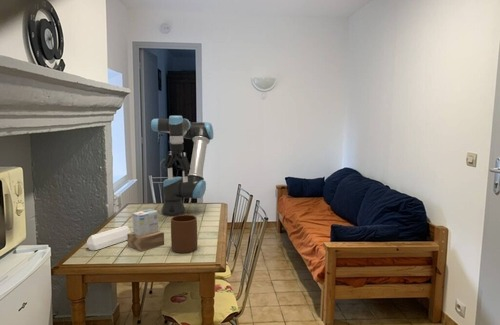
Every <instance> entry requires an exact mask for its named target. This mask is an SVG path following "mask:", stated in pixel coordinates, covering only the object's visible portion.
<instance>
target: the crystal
mask: <svg viewBox="0 0 500 325" xmlns="http://www.w3.org/2000/svg"><path fill="white" fill-rule="evenodd" d="M128 233H132V231H131V230H130V228H129V226H128V225H122V226H119V227H116V228H112V229H109V230H106V231H102V232H98V233H95V234H92V235H90V236H89V237H88V238H87V241H86V244H87V247H88V250H90V251H93V252H94V251H97V250H100V249H104V248H106V247H110V246H113V245H115V244H116V245H117V244H119V243H122V242H125V241H128V238H127V234H128Z"/></svg>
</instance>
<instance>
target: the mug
mask: <svg viewBox="0 0 500 325" xmlns="http://www.w3.org/2000/svg"><path fill="white" fill-rule="evenodd" d="M171 217H172V218H171V219H170V239H171V242H170V243H171V250H172V251H173V252H175V253H178V254H188V253H192V252H195V251H196V250H197V248H198V219H197V217H196V216H195V215H191V214H189V213H187V212H185V213H184V214H182V215H178V216H171Z"/></svg>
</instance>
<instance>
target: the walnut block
mask: <svg viewBox="0 0 500 325" xmlns="http://www.w3.org/2000/svg"><path fill="white" fill-rule="evenodd" d="M127 238H128V240H127V247H129V248H132V249H134V250H136V251H139V252H145V251H148V250H151V249H152V250H153V249H155V248H158V247H160V246H164V245H165V232H163V231H159V230H158V232H155V233H151V234H148V235H144V236H137V235H135V234H134V232H133V231H131V233H128V234H127Z"/></svg>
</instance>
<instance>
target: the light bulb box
mask: <svg viewBox="0 0 500 325" xmlns="http://www.w3.org/2000/svg"><path fill="white" fill-rule="evenodd" d="M158 212H159V211H158V210H155V209H153V208H150V209H144V210H140V211H136V212H132V232H134V234H135V235H137V236H144V235H148V234H151V233H155V232H158V231H159V214H158Z"/></svg>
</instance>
